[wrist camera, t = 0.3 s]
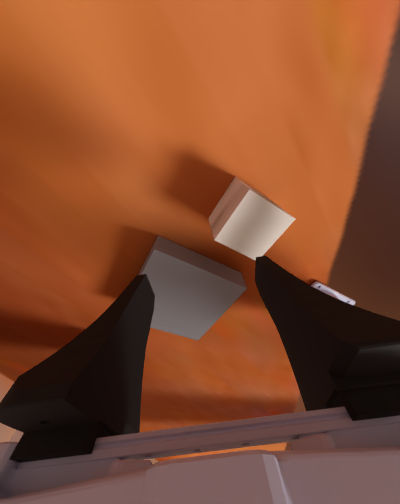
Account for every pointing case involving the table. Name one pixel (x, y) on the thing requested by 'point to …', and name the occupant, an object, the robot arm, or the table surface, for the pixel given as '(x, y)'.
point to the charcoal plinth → (188, 289)
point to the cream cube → (247, 220)
